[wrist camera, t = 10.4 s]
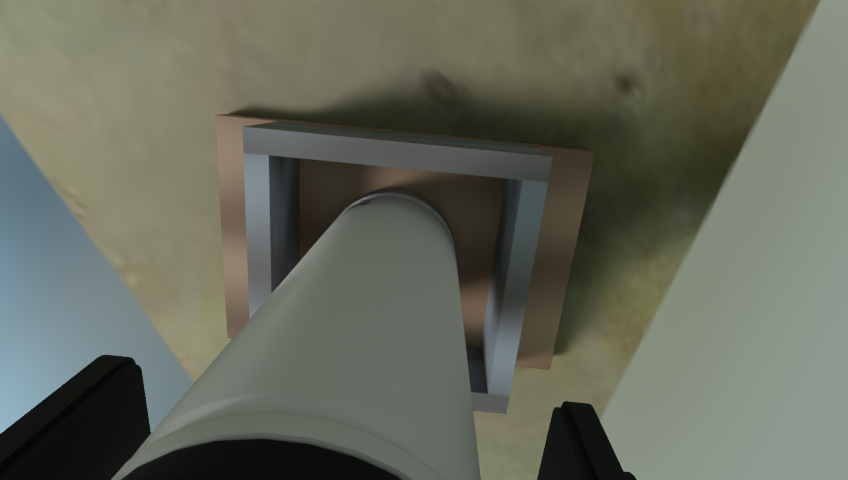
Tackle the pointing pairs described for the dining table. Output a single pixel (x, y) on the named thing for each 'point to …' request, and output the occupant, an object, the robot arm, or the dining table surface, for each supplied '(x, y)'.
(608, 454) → the robot arm
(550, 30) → the dining table surface
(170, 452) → the travel mug
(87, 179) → the dining table surface
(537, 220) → the jig cradle
